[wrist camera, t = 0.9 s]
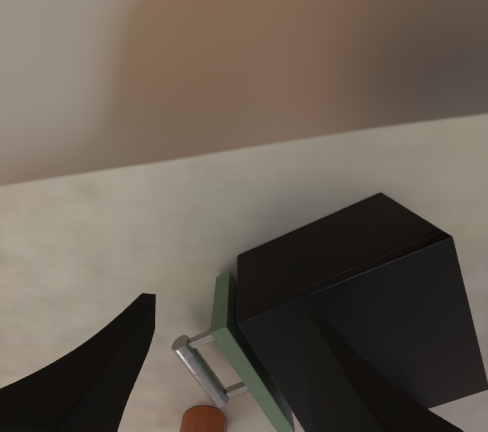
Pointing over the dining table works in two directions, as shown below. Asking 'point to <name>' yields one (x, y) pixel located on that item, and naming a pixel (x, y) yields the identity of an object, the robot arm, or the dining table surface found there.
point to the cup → (203, 420)
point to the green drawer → (233, 360)
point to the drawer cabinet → (364, 302)
